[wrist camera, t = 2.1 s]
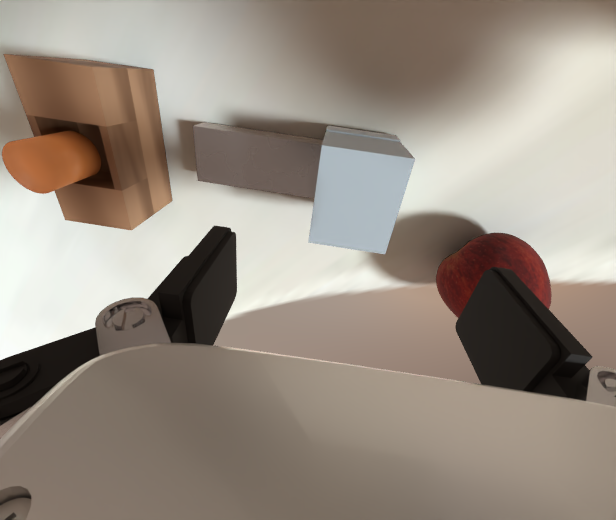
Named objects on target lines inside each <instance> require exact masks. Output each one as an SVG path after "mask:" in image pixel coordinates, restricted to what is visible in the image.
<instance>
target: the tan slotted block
mask: <svg viewBox="0 0 616 520" xmlns="http://www.w3.org/2000/svg"><path fill="white" fill-rule="evenodd" d="M4 57H5V59H6V62H7V65H8V67H9V70H10V73H11V75H12V78H13V81H14V83H15V86H16V89H17V91H18V94H19V97H20V99H21V102H22V105H23V107H24V110H25V113H26V116H27V118H28V121H29V124H30V126H31V129H32V132H33V134H34V137H38V136H43V135H48V134H53V133H58V132H63V131H75V132H78V133H80V134H82V135H84V136H85V137H86V138H88V139H89V140H90V141H91V142H92V143H93V144H94V146H95V147H96V149H97V151H98V153H99V155H100V158H101V168H100V170H99V172H98V173H97V174H95V175H92V176H90V177H87V178H85V179H82V180H80V181H77V182H75V183H72V184H69V185H67V186H64V187H62V188H59V189H57V190H54V191H55V193H56V196H57V199H58V201H59V204H60V207H61V209H62V212H63V215H64V217H65V220H69V221H76V222H82V223H89V224H95V225H101V226H108V227H114V228H120V229H127V230H133V229H134V228H135V227H137V226H138V225H140V224H141V223H142V222H144V221H145V220H146V219H148V218H149V217H151V216H152V215H153V214H155V213H156V212H158V211H159V210H160V209H162V208H163V207H164V206H166V205H167V204H169V203H170V202H171V201H172V195H171V188H170V181H169V174H168V167H167V160H166V153H165V146H164V139H163V133H162V126H161V119H160V112H159V105H158V98H157V91H156V84H155V77H154V70H153V69H146V68H139V67H132V66H125V65H118V64H111V63H104V62H97V61H90V60H81V59H66V58H52V57H38V56H23V55H9V54H4Z"/></svg>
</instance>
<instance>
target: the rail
mask: <svg viewBox="0 0 616 520" xmlns="http://www.w3.org/2000/svg"><path fill="white" fill-rule="evenodd" d="M193 132H194V143H195V154H196V165H197V176H198V181H203V182H210V183H216V184H223V185H229V186H236V187H243V188H249V189H256V190H262V191H269V192H275V193H282V194H289V195H295V196H302V197H308V198H315V191H316V184H317V177H318V169H319V162H320V155H321V148H322V143H323V140H322V139H315V138H308V137H302V136H295V135H288V134H281V133H275V132H268V131H261V130H254V129H247V128H241V127H234V126H227V125H220V124H214V123H207V122H203V123H200V124H197V125H194V126H193Z"/></svg>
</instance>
